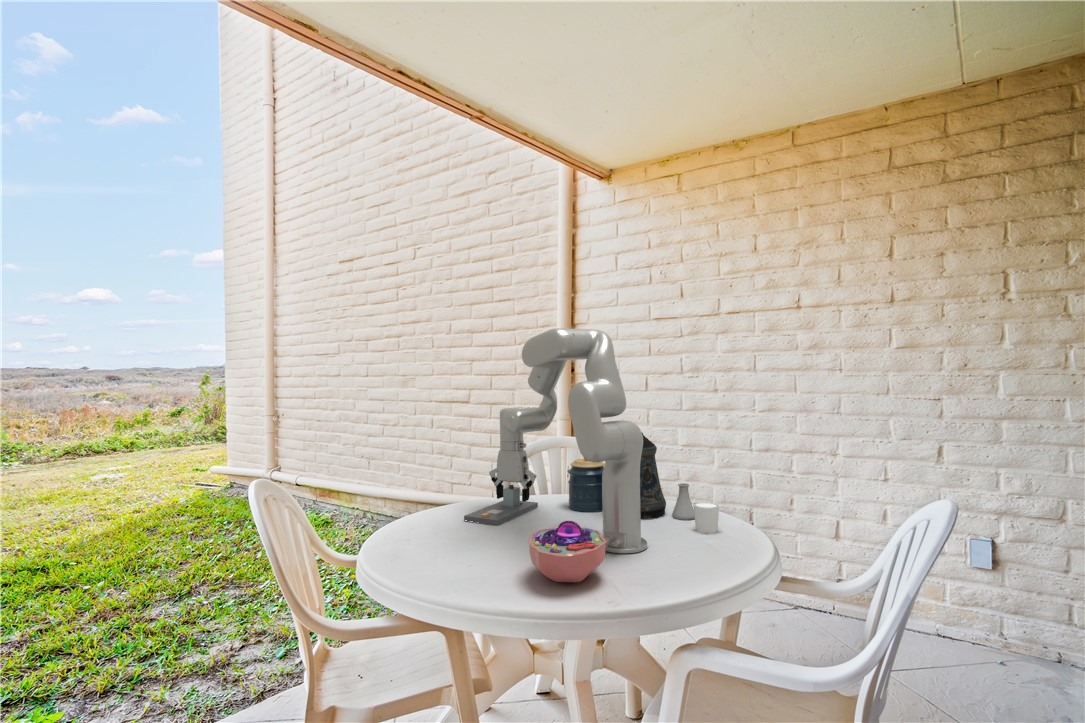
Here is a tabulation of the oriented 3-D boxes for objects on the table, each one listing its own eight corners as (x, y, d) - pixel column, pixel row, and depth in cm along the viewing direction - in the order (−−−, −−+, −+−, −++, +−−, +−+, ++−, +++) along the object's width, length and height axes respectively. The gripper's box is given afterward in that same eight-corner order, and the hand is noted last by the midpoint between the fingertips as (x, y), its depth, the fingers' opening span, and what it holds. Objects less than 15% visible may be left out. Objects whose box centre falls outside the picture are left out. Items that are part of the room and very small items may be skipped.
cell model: (515, 591, 112) (514, 535, 112) (543, 559, 131) (542, 511, 131) (597, 599, 107) (596, 541, 107) (614, 565, 126) (613, 515, 127)
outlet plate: (497, 525, 160) (497, 518, 160) (464, 521, 166) (464, 513, 166) (537, 507, 181) (537, 500, 181) (507, 503, 187) (506, 497, 187)
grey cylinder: (694, 533, 150) (693, 507, 150) (693, 526, 156) (692, 501, 156) (720, 534, 148) (720, 508, 148) (718, 527, 155) (718, 502, 155)
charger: (512, 512, 176) (512, 487, 176) (503, 511, 178) (503, 486, 178) (520, 509, 180) (519, 484, 180) (510, 507, 181) (510, 483, 182)
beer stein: (673, 509, 175) (671, 431, 176) (652, 524, 159) (650, 437, 159) (624, 504, 184) (623, 429, 184) (599, 518, 167) (598, 435, 168)
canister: (592, 514, 171) (591, 457, 171) (560, 508, 180) (559, 453, 180) (616, 506, 181) (615, 452, 181) (585, 501, 189) (584, 449, 190)
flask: (667, 515, 169) (667, 482, 169) (689, 513, 170) (688, 481, 171) (678, 521, 162) (677, 487, 162) (701, 519, 163) (700, 485, 164)
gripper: (540, 446, 178) (541, 499, 178) (495, 443, 187) (496, 494, 186) (529, 449, 172) (530, 504, 171) (483, 446, 180) (484, 499, 180)
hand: (512, 499), depth 179 cm, fingers open, 9 cm apart
